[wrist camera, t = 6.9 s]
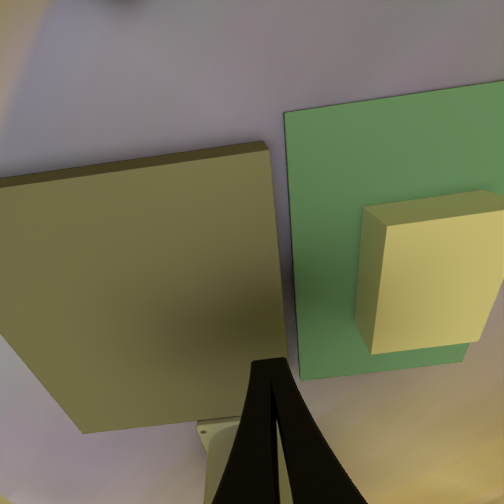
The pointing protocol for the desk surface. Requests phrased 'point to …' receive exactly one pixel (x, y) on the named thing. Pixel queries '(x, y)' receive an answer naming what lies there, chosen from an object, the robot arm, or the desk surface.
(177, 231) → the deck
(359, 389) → the desk surface
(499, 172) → the mat
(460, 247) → the tile
